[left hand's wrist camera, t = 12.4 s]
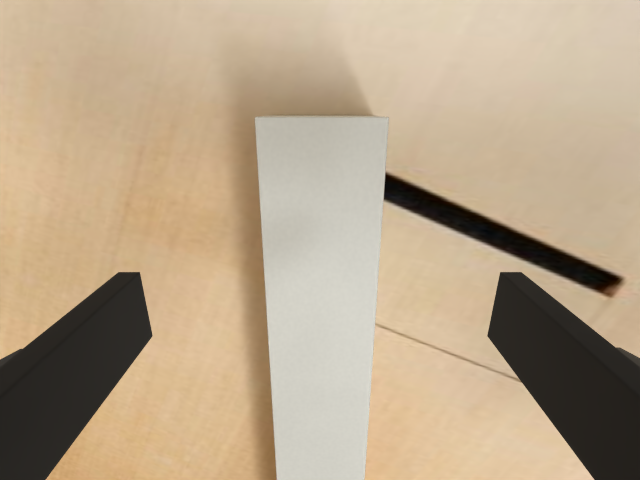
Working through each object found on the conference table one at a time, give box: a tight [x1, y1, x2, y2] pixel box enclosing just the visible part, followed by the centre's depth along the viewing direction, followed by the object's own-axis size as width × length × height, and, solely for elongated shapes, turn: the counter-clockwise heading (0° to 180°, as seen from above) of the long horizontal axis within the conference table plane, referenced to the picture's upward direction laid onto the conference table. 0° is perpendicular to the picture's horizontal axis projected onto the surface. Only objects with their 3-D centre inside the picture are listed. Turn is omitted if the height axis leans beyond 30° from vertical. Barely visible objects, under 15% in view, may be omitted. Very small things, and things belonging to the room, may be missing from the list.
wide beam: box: [255, 116, 389, 480], centre depth 42 cm, size 83×9×7 cm, turn 0°
